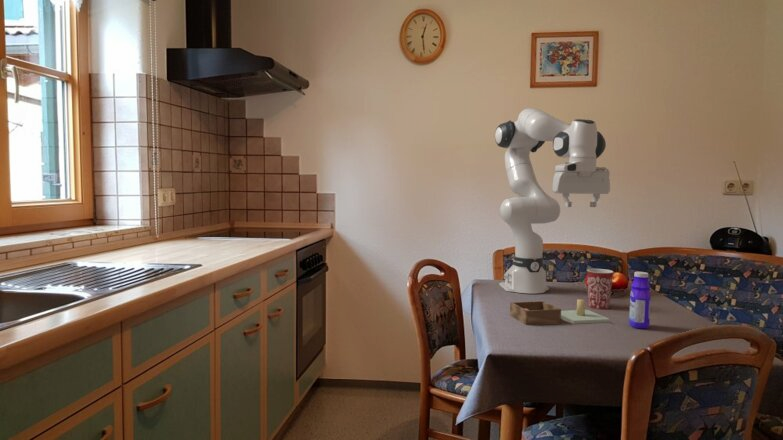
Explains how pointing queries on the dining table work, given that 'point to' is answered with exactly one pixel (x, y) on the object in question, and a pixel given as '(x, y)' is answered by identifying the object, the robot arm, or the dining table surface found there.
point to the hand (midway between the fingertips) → (580, 207)
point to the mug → (599, 288)
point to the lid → (582, 315)
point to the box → (535, 312)
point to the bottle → (640, 301)
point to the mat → (588, 323)
